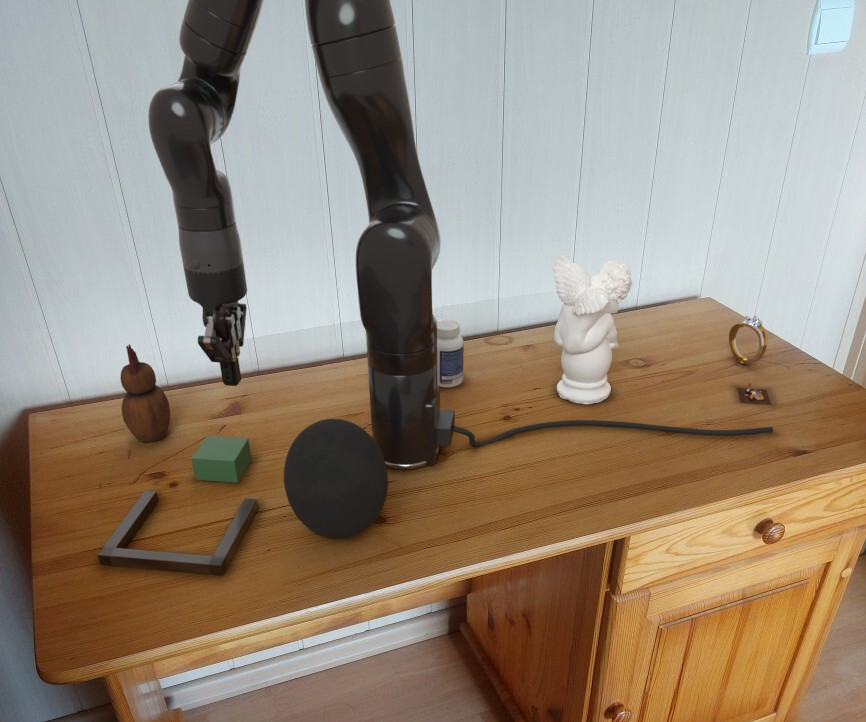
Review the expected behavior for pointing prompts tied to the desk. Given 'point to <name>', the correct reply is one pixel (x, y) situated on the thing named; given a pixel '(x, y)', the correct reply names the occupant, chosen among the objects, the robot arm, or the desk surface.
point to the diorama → (753, 395)
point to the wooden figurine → (143, 401)
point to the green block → (221, 459)
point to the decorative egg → (335, 478)
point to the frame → (166, 561)
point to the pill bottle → (449, 354)
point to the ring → (762, 336)
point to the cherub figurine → (588, 327)
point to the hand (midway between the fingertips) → (232, 383)
